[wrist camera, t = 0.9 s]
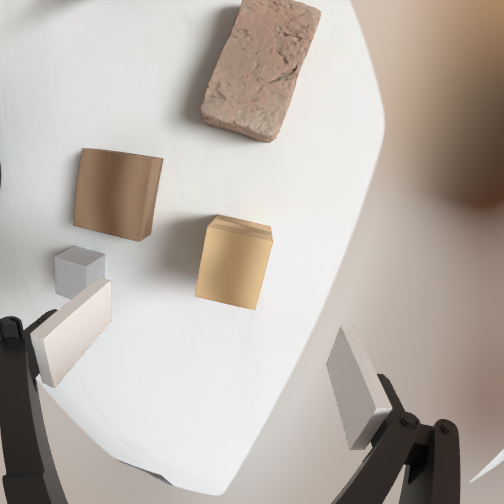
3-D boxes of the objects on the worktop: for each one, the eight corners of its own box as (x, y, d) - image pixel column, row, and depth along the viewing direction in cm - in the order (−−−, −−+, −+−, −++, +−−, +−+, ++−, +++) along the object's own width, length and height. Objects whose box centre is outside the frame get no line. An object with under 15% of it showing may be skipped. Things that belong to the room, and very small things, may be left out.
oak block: (206, 271, 35) (194, 296, 29) (218, 214, 33) (207, 226, 27) (256, 283, 35) (255, 310, 29) (270, 226, 34) (273, 241, 27)
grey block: (75, 279, 36) (55, 293, 32) (75, 245, 35) (54, 256, 30) (104, 288, 37) (86, 304, 32) (105, 254, 35) (86, 266, 30)
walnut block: (90, 219, 34) (73, 225, 30) (99, 149, 32) (82, 148, 28) (151, 233, 34) (139, 241, 31) (164, 158, 32) (152, 157, 28)
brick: (274, 145, 31) (277, 141, 27) (202, 124, 31) (193, 117, 26) (316, 25, 27) (324, 7, 22) (249, 6, 26) (247, -13, 22)
